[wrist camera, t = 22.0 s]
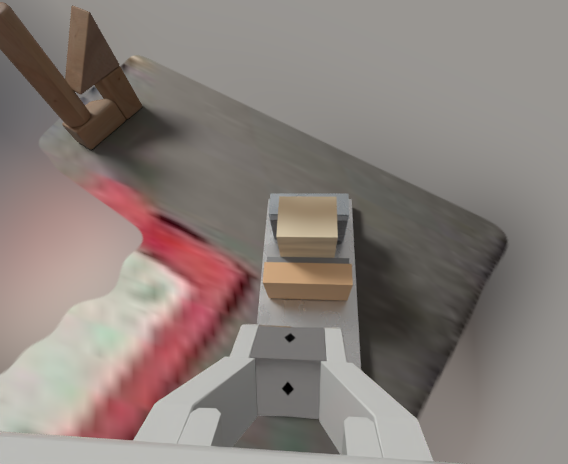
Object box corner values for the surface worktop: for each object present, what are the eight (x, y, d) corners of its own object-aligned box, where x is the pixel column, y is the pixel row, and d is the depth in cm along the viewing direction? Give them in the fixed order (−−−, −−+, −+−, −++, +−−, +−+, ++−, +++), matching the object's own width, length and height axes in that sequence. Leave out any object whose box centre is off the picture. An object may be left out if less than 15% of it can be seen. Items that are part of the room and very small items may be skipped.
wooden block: (144, 107, 51) (69, -26, 35) (92, 151, 47) (-18, 24, 32) (128, 99, 52) (49, -33, 37) (76, 142, 49) (-37, 15, 33)
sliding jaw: (347, 300, 32) (352, 285, 28) (268, 298, 33) (262, 282, 29) (346, 276, 34) (351, 257, 29) (270, 274, 34) (264, 256, 30)
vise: (360, 409, 29) (373, 410, 23) (252, 403, 30) (238, 402, 24) (350, 206, 40) (356, 172, 34) (269, 205, 40) (262, 173, 35)
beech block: (331, 276, 34) (337, 237, 26) (284, 275, 34) (276, 236, 26) (330, 242, 36) (336, 196, 28) (286, 241, 36) (279, 196, 28)
